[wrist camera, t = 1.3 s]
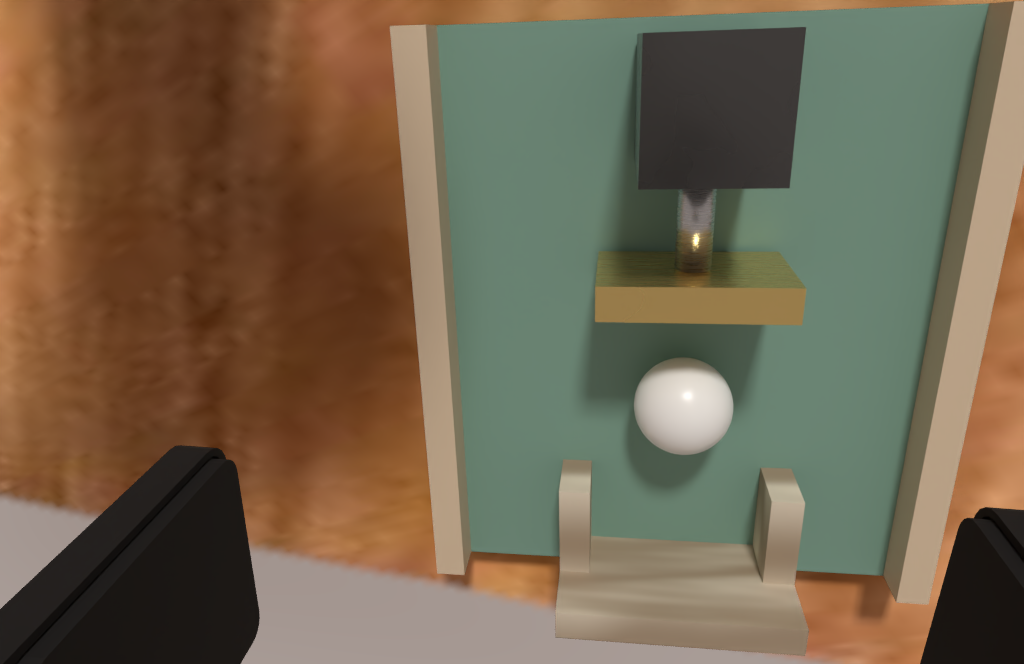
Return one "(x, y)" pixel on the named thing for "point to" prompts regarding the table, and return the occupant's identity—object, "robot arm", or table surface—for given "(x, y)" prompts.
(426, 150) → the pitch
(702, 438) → the ball
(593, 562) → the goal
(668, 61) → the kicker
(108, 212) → the table surface
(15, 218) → the table surface
